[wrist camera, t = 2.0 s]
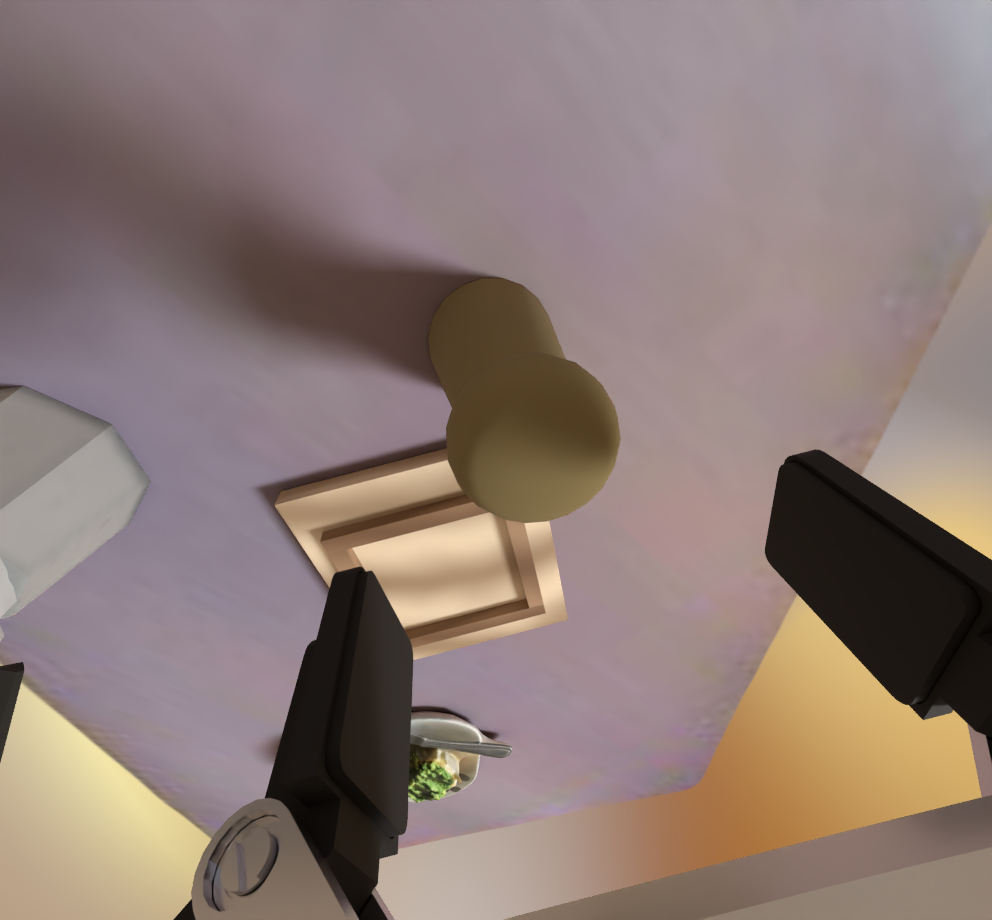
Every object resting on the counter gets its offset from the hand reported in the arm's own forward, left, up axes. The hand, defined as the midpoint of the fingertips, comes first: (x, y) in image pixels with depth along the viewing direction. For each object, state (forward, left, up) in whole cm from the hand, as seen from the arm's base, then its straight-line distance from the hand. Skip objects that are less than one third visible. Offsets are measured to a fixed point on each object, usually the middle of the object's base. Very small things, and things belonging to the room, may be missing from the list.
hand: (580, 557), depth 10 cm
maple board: (+12, -6, -14) cm, 19 cm away
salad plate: (+35, -18, -14) cm, 42 cm away
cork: (-1, 0, -14) cm, 14 cm away
